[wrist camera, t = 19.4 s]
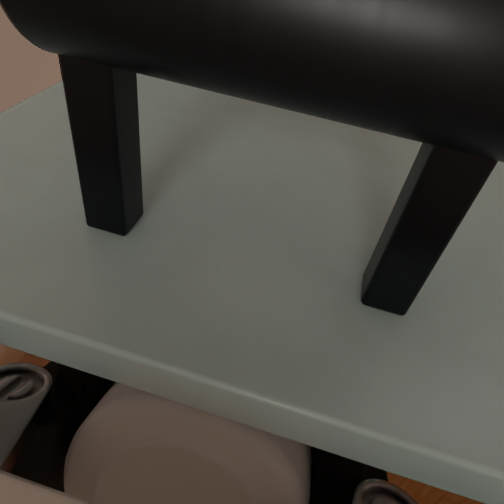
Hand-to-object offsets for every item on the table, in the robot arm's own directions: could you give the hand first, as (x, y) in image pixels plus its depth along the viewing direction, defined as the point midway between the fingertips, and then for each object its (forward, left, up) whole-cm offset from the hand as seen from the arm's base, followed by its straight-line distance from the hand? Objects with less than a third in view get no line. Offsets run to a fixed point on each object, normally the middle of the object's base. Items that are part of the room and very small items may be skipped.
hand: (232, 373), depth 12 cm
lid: (0, +6, -2) cm, 6 cm away
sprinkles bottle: (0, 0, -9) cm, 9 cm away
